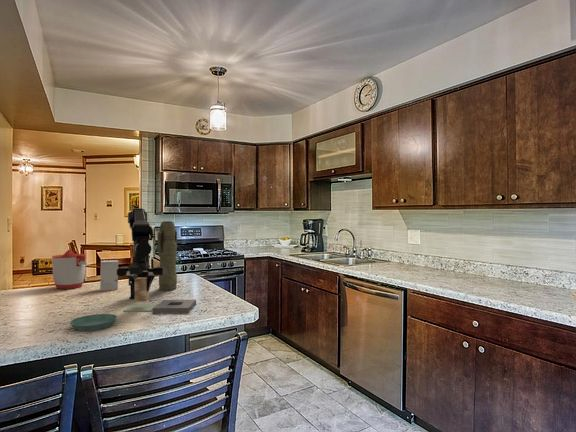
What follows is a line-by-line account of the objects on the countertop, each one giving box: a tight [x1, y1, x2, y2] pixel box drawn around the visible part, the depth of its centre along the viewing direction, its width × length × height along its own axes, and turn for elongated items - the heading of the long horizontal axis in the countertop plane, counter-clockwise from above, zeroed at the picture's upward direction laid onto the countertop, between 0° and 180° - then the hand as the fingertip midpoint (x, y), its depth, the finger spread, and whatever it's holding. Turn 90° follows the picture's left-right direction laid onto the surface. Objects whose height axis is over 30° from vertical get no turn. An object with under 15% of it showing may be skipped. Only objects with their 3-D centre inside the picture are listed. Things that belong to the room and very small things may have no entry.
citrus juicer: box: [51, 249, 88, 290], centre depth 200 cm, size 16×17×20 cm
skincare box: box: [99, 259, 119, 292], centre depth 194 cm, size 8×6×15 cm
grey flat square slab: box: [152, 299, 197, 314], centre depth 155 cm, size 14×14×2 cm
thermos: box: [156, 220, 178, 292], centre depth 195 cm, size 9×12×35 cm
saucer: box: [69, 313, 118, 332], centre depth 132 cm, size 15×15×3 cm
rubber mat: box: [123, 303, 158, 313], centre depth 156 cm, size 11×11×1 cm
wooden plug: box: [134, 277, 150, 302], centre depth 156 cm, size 4×4×9 cm
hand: (142, 291), depth 156 cm, fingers closed on wooden plug, 4 cm apart
